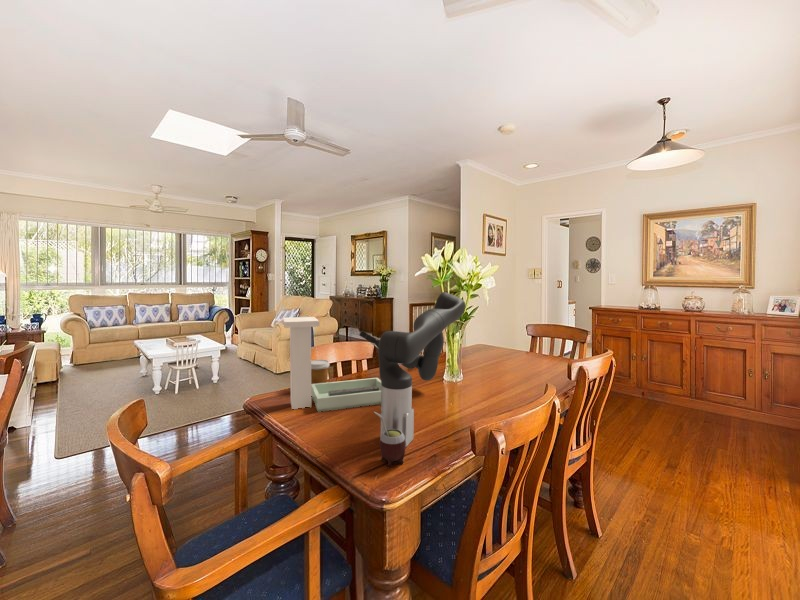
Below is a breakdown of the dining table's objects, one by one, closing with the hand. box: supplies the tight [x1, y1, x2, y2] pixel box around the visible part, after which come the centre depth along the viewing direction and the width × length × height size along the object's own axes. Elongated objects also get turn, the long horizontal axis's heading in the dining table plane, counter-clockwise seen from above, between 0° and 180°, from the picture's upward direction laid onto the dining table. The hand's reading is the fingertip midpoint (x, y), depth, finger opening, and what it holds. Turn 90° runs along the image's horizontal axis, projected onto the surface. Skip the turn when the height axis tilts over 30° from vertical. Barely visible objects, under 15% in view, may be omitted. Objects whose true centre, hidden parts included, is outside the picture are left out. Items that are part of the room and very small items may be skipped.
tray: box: [311, 377, 381, 413], centre depth 141 cm, size 28×18×5 cm, turn 111°
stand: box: [282, 316, 320, 410], centre depth 133 cm, size 12×13×33 cm
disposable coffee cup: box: [311, 359, 331, 384], centre depth 153 cm, size 10×10×12 cm
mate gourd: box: [373, 411, 407, 469], centre depth 93 cm, size 8×8×15 cm
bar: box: [328, 386, 379, 396], centre depth 141 cm, size 20×3×3 cm, turn 111°
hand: (363, 334), depth 141 cm, fingers open, 8 cm apart
